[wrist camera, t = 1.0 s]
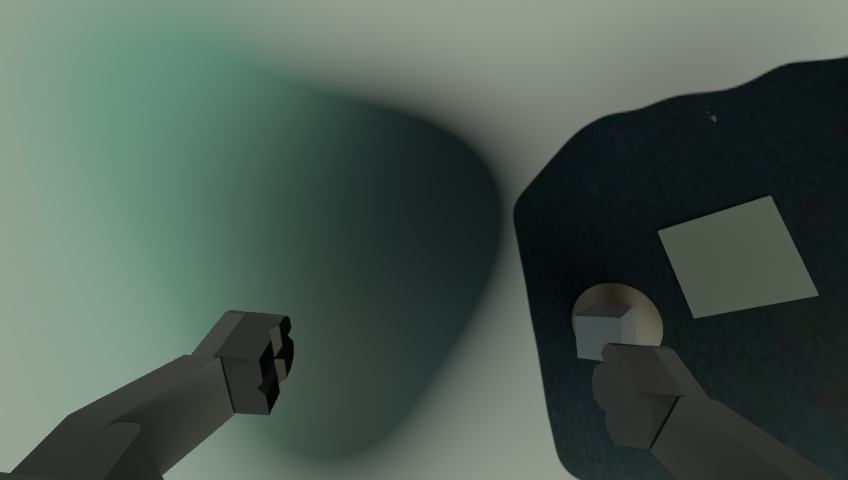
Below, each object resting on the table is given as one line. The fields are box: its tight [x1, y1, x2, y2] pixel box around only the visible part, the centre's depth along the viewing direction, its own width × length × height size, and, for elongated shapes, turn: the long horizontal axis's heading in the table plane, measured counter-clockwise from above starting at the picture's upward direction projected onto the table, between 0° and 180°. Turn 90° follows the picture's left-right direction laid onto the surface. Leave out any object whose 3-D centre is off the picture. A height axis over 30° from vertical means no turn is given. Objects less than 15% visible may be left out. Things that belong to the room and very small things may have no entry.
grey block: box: [574, 305, 637, 361], centre depth 43 cm, size 5×5×7 cm
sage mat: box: [658, 195, 819, 318], centre depth 39 cm, size 10×10×1 cm
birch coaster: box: [572, 283, 663, 362], centre depth 46 cm, size 10×10×1 cm
